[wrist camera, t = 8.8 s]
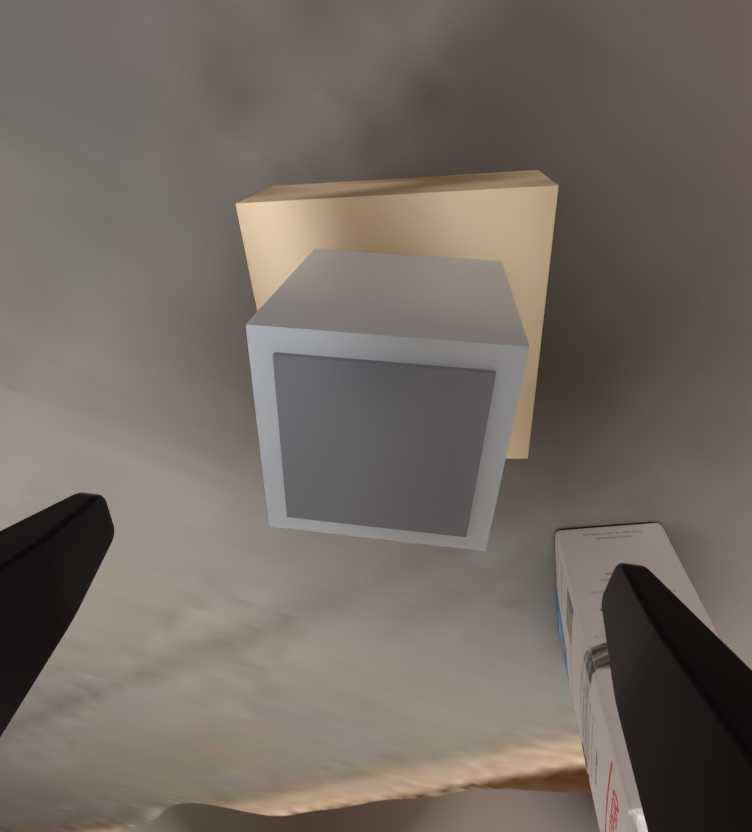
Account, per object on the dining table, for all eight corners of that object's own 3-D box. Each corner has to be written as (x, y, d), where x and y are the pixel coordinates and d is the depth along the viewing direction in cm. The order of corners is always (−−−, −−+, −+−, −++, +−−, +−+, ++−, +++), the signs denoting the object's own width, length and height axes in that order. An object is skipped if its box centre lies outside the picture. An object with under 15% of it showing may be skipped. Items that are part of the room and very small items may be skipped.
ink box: (653, 634, 27) (823, 1076, 15) (557, 636, 28) (640, 1050, 16) (665, 518, 23) (917, 1001, 11) (552, 525, 24) (661, 971, 12)
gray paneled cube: (501, 260, 14) (531, 350, 9) (474, 420, 17) (486, 555, 12) (314, 248, 15) (242, 327, 10) (319, 406, 18) (267, 530, 13)
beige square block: (536, 168, 17) (558, 185, 13) (515, 402, 21) (527, 458, 18) (275, 184, 18) (235, 203, 14) (310, 402, 23) (286, 454, 19)
